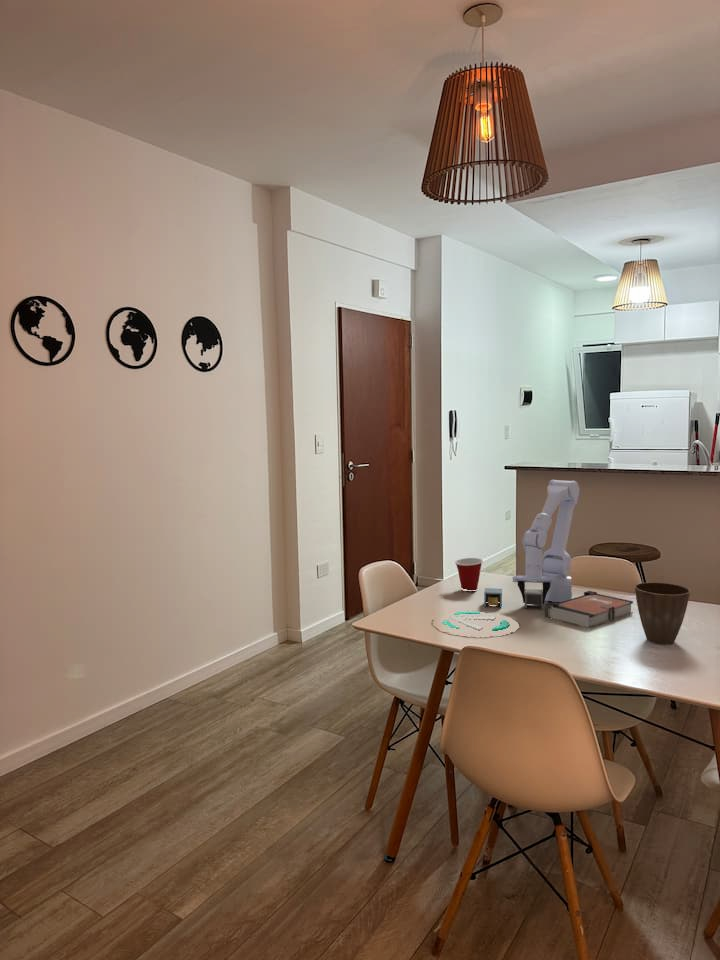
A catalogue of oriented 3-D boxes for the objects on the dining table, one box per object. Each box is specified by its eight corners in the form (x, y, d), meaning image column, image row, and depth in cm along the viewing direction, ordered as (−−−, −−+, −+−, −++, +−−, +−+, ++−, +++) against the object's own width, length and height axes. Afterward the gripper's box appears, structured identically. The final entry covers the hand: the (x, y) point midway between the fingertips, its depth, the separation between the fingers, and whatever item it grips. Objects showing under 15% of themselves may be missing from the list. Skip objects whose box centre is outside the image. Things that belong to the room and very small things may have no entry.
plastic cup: (451, 587, 268) (450, 558, 267) (477, 586, 270) (477, 556, 269) (459, 594, 257) (459, 563, 256) (486, 593, 259) (487, 562, 258)
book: (590, 630, 214) (591, 615, 213) (544, 618, 227) (544, 603, 227) (634, 614, 230) (634, 600, 230) (589, 604, 244) (589, 590, 243)
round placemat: (452, 609, 240) (452, 605, 240) (530, 620, 226) (530, 615, 226) (417, 631, 216) (417, 626, 216) (502, 644, 202) (502, 639, 202)
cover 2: (542, 604, 241) (542, 589, 241) (542, 609, 235) (542, 594, 235) (524, 604, 242) (524, 589, 242) (525, 608, 237) (525, 593, 236)
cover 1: (501, 603, 244) (501, 588, 244) (501, 608, 238) (501, 593, 238) (485, 602, 246) (485, 588, 245) (484, 607, 240) (484, 592, 239)
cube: (498, 604, 243) (498, 595, 243) (497, 607, 240) (498, 597, 240) (488, 604, 244) (488, 594, 244) (487, 606, 241) (488, 597, 240)
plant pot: (642, 629, 212) (643, 579, 211) (694, 639, 203) (695, 586, 201) (626, 642, 201) (627, 589, 199) (680, 652, 191) (682, 597, 190)
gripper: (512, 566, 235) (512, 604, 236) (556, 567, 232) (555, 606, 233) (512, 562, 242) (512, 599, 243) (554, 563, 239) (554, 601, 240)
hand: (533, 602), depth 239 cm, fingers closed on cover 2, 6 cm apart
